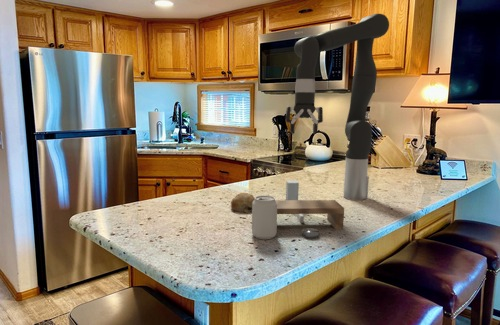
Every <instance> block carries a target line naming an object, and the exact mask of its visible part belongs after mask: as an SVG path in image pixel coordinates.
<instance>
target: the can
mask: <svg viewBox="0 0 500 325" xmlns="http://www.w3.org/2000/svg"><path fill="white" fill-rule="evenodd" d="M254 199H255V200H254V201H253V202H252V211H251V234H252V236H254V238H256V239H259V240H270V239H273V238H275V236H276V235H277V234H278V233H277V230H278V228H277V226H278V214H277V202H276V201H275V200H276V197H275V196H272V195H264V194H263V195H256V196H254Z"/></svg>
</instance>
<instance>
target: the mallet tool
mask: <svg viewBox="0 0 500 325" xmlns="http://www.w3.org/2000/svg"><path fill="white" fill-rule="evenodd" d="M285 182H286V183H285V184H286V185H285V186H286V187H285V192H286V193H285V200H299V186H300V183H299V182H298V181H297V180H286V181H285ZM294 215H295V217H296V218H297V220H298V222H299V223H300V224H302V223H305V216H304V214H294Z"/></svg>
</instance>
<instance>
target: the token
mask: <svg viewBox="0 0 500 325" xmlns="http://www.w3.org/2000/svg"><path fill="white" fill-rule="evenodd" d="M301 236H302V238H305V239H309V240H310V239H311V240H315V239H318V238H319V236H320V230H319V229H317V228H312V227H309V228H303V229H302V232H301Z"/></svg>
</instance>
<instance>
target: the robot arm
mask: <svg viewBox="0 0 500 325" xmlns="http://www.w3.org/2000/svg"><path fill="white" fill-rule="evenodd" d="M389 28H390V22H389V18H388V17H387V15H385V14H383V13H374V14H371V15H367V16H364V17H362V18H361V20H360V21H359V22H357V23H355V24H350V25H347V26H342V27H337V28H334V29H330V30H327V31H325V32H321V33H319V34H316V35H313V36H307V37H303V38H301V39H299V40H298V41H296V42H295V44H294V48H293V49H294V50H293V51H294V53H295V55H296V56H297V57H299V58H300V63H298V65H297V66H296V72H295V73H296V78H295V79H296V80H295V84H294V85H295V89H294V90H295V92H294V105H293V106H286V111H285V119H284V120H285V122H286V123H288V124H289V132H290V133H291V134H295V122H296V121H297V120H299V118H300V119H304V118H305V119H310V120H311V121H312V122H313V124H312V134H315V135H316V134H317V132H318V129H319V128H318V127H319V124H320V123H323V121H324V116H323V115H324V113H323V112H324V111H323V106H319V107H316V106H315V102H316V101H315V98H316V80H315V79H316V67H317V66H316V65H317V62H318V59H319V54H320V53H321V52H327V51H330V50H334V49H338V48H340V47H343V46H346V45H348V44H350V43H351V44H352V43H354V42H356V53H355V62H354V64H355V65H354V70H353V76H352V84H351V94H350V101H349V103H350V105H349V111H348V115H347V119H346V122H345V127H344V134H345V136H346V138H347V139H348V140H349V142H348V143H349V144H348V149H347V150H346V151H345V160H344V161H345V164H344V180H343V181H344V182H343V198H344V199H347V200H351V201H353V200H354V201H355V200H356V201H361V200H362V201H363V200H368V197H369V196H368V195H369V181H370V180H369V179H370V178H369V176H368V167H369V166H368V165H369V155H370V153H371V149H372V140H373V139H372V138H373V129H372V126H371V124H370V123H369V122H368V121H366V116H367V115H366V114H367V108H368V106H369V103H370V102H371V99H372V96H373V94H374V92H375V89H376V83H377V77H378V72H377V71H378V70H377V66H376V63H375V60H374V57H373V47H374V41H375V39H379V38H382V37H383V36H385V35H386V33H388V31H389ZM293 111H294V113H295V114H294V115H293V117H292V118H291V113H292V112H293ZM315 111H316V113H317V118H316V116H315V115H314V113H315Z"/></svg>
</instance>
